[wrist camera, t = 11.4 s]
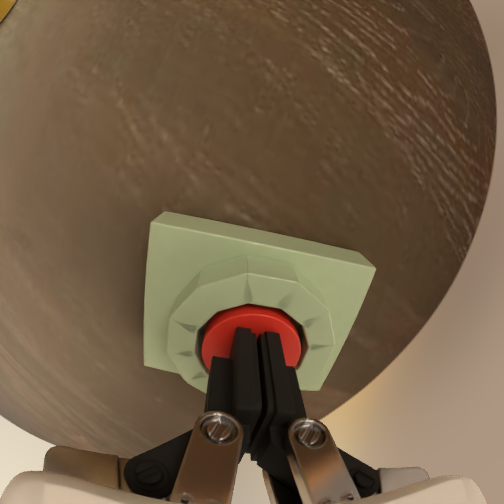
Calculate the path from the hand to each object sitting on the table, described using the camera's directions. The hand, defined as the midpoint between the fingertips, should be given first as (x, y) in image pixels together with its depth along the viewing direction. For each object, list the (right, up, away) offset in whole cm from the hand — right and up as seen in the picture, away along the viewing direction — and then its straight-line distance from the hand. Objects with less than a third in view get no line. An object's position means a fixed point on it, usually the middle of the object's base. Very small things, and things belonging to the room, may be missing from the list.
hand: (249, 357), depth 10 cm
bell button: (0, +1, +2) cm, 2 cm away
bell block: (0, +2, +4) cm, 4 cm away
